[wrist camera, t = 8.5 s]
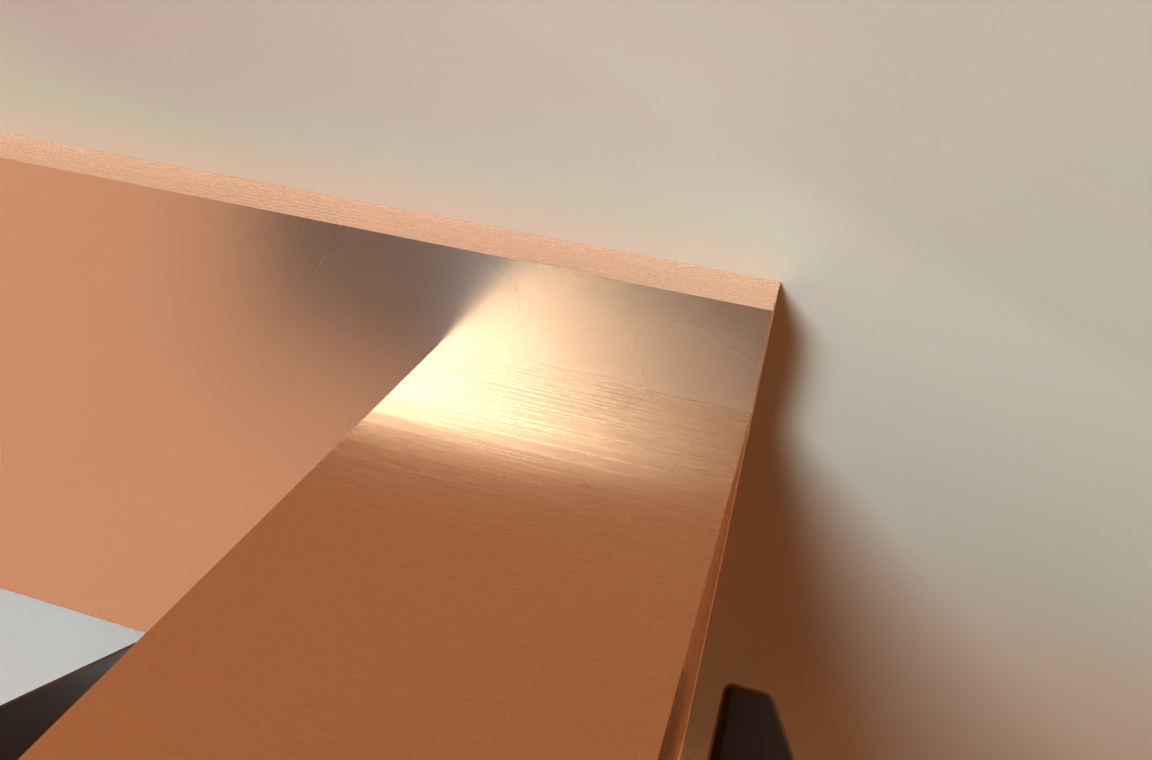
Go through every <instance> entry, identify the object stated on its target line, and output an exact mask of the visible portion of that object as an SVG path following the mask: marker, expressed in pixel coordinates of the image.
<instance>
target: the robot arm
mask: <svg viewBox="0 0 1152 760" xmlns="http://www.w3.org/2000/svg"><path fill="white" fill-rule="evenodd" d="M134 644H135V643H133V644H131V645H129V646H127V647H125V648H123V649H121V650H118V651H116V652H114V653H112V654H110V655H108V656H106V657H103V658H101V659H99V660H97V661H95V662H93V663H91V664H88V665H86V666H84V667H82V668H80V669H78V670H76V671H73V672H71V673H69V674H67V675H65V676H63V677H61V678H58V679H56V680H54V681H52V682H50V683H48V684H46V685H43V686H41V687H39V688H37V689H35V690H33V691H31V692H28V693H26V694H24V695H22V696H20V697H18V698H16V699H13V700H11V701H9V702H7V703H5V704H3V705H1V706H0V760H18V759H19V758H20V757H21V756H22V755H23V754H24V753H25V752H26V751H27V750H28V749H29V748H30V747H31V746H32V745H33V744H34V743H35V742H36V741H37V740H38V739H39V738H40V737H41V736H42V735H43V734H44V733H45V732H46V731H47V730H48V729H49V728H50V727H51V726H52V725H53V724H54V723H55V722H56V721H57V720H58V719H59V718H60V717H61V716H62V715H63V714H64V713H65V712H66V711H67V710H68V709H69V708H70V707H71V706H73V705H74V704H75V703H76V702H77V701H78V700H79V699H80V698H81V697H82V696H83V695H84V694H85V693H86V692H87V691H88V690H89V689H90V688H91V687H92V686H93V685H94V684H95V683H96V682H97V681H98V680H99V679H100V678H101V677H102V676H103V675H104V674H105V673H106V672H107V671H108V670H109V669H110V668H111V667H112V666H113V665H114V664H115V663H116V662H117V661H118V660H119V659H120V658H121V657H122V656H123V655H124V654H125V653H126V652H127V651H128V650H129V649H130V648H131V647H132V646H133V645H134ZM707 760H795V757H794V755H793V752H792V749H791V746H790V743H789V740H788V737H787V735H786V732H785V729H784V726H783V723H782V720H781V717H780V715H779V712H778V709H777V706H776V703H775V701H774V699H773V697H772V696H771V695H770V694H768V693H766V692H763V691H760V690H756V689H752V688H749V687H745V686H742V685H738V684H735V683H729V684H727V685H726V686H725V687H724V689H723V693H722V697H721V701H720V705H719V710H718V714H717V718H716V723H715V727H714V731H713V736H712V740H711V745H710V749H709V753H708V758H707Z"/></svg>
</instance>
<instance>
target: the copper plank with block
mask: <svg viewBox="0 0 1152 760" xmlns="http://www.w3.org/2000/svg"><path fill="white" fill-rule="evenodd" d="M780 283H781V282H777V281H772V280H766V279H761V278H756V277H751V276H746V275H740V274H735V273H730V272H725V271H720V270H714V269H709V268H704V267H699V266H693V265H688V264H683V263H678V262H673V261H667V260H662V259H657V258H652V257H647V256H641V255H636V254H631V253H626V252H621V251H615V250H610V249H605V248H600V247H595V246H589V245H584V244H579V243H574V242H569V241H563V240H558V239H553V238H548V237H542V236H537V235H532V234H527V233H522V232H516V231H511V230H506V229H501V228H496V227H490V226H485V225H480V224H475V223H470V222H464V221H459V220H454V219H449V218H444V217H438V216H433V215H428V214H423V213H418V212H412V211H407V210H402V209H397V208H391V207H386V206H381V205H376V204H371V203H365V202H360V201H355V200H350V199H345V198H339V197H334V196H329V195H324V194H319V193H313V192H308V191H303V190H298V189H293V188H287V187H282V186H277V185H272V184H267V183H261V182H256V181H251V180H246V179H240V178H235V177H230V176H225V175H220V174H214V173H209V172H204V171H199V170H194V169H188V168H183V167H178V166H173V165H168V164H162V163H157V162H152V161H147V160H142V159H136V158H131V157H126V156H121V155H116V154H110V153H105V152H100V151H95V150H89V149H84V148H79V147H74V146H69V145H63V144H58V143H53V142H48V141H43V140H37V139H32V138H27V137H22V136H17V135H11V134H6V133H1V132H0V588H3V589H6V590H9V591H13V592H16V593H19V594H22V595H26V596H29V597H32V598H35V599H39V600H42V601H45V602H48V603H52V604H55V605H58V606H61V607H65V608H68V609H71V610H74V611H78V612H81V613H84V614H87V615H91V616H94V617H97V618H100V619H104V620H107V621H110V622H113V623H117V624H120V625H123V626H126V627H130V628H133V629H136V630H139V631H143V632H146V634H145V635H144V636H143V637H142V638H141V639H139V640H138V641H137V642H136V643H135V644H134V645H133V646H132V647H131V648H130V649H129V650H128V651H127V652H126V653H125V654H124V655H123V656H122V657H121V658H120V659H119V660H118V661H117V662H116V663H115V664H114V665H113V666H112V667H111V668H110V669H109V670H108V671H107V672H106V673H105V674H104V675H103V676H102V677H101V678H100V679H99V680H98V681H97V682H96V683H95V684H94V685H93V686H92V687H91V688H90V689H89V690H88V691H87V692H86V693H85V694H84V695H83V696H82V697H81V698H80V699H79V700H78V701H77V702H76V703H75V704H74V705H73V706H71V707H70V708H69V709H68V710H67V711H66V712H65V713H64V714H63V715H62V716H61V717H60V718H59V719H58V720H57V721H56V722H55V723H54V724H53V725H52V726H51V727H50V728H49V729H48V730H47V731H46V732H45V733H44V734H43V735H42V736H41V737H40V738H39V739H38V740H37V741H36V742H35V743H34V744H33V745H32V746H31V747H30V748H29V749H28V750H27V751H26V752H25V753H24V754H23V755H22V756H21V757H20V758H19V759H18V760H680V758H681V754H682V750H683V745H684V741H685V736H686V731H687V726H688V722H689V717H690V712H691V707H692V703H693V698H694V693H695V688H696V684H697V679H698V674H699V669H700V664H701V660H702V655H703V650H704V645H705V641H706V636H707V631H708V626H709V622H710V617H711V612H712V607H713V603H714V598H715V593H716V588H717V583H718V579H719V574H720V569H721V564H722V560H723V555H724V550H725V545H726V541H727V536H728V531H729V526H730V522H731V517H732V512H733V507H734V503H735V498H736V493H737V488H738V483H739V479H740V474H741V469H742V464H743V460H744V455H745V450H746V445H747V441H748V436H749V431H750V426H751V422H752V417H753V412H754V407H755V403H756V398H757V393H758V388H759V383H760V379H761V374H762V369H763V364H764V360H765V355H766V350H767V345H768V341H769V336H770V331H771V326H772V322H773V317H774V312H775V307H776V303H777V298H778V293H779V288H780Z"/></svg>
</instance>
